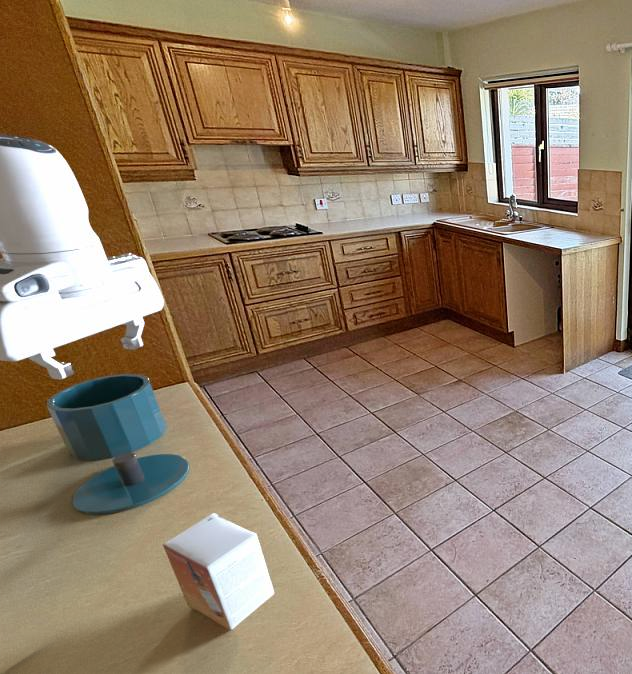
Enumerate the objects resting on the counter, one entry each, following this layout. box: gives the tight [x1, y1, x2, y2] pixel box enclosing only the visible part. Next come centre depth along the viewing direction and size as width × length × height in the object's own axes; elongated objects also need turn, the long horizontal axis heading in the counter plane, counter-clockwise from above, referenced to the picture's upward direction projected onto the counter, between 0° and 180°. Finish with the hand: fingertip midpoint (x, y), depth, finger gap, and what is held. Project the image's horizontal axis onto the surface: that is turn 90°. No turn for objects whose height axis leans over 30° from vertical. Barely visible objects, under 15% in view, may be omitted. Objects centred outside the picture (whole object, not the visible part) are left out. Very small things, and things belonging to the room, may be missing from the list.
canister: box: [46, 373, 168, 462], centre depth 84 cm, size 13×13×10 cm
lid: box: [72, 452, 190, 516], centre depth 75 cm, size 14×14×6 cm
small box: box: [162, 512, 275, 631], centre depth 57 cm, size 8×6×10 cm
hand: (101, 361), depth 68 cm, fingers open, 8 cm apart
